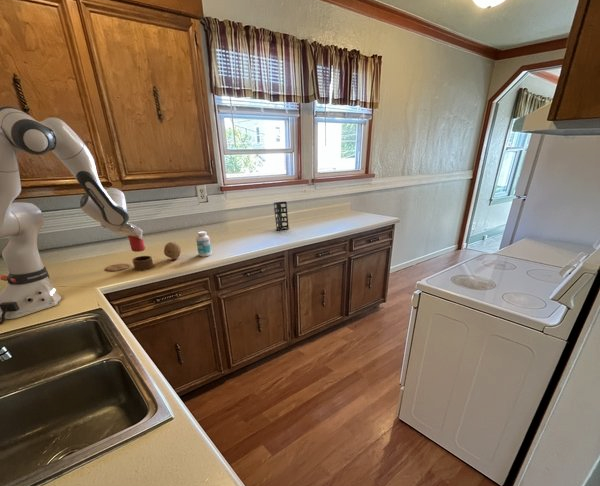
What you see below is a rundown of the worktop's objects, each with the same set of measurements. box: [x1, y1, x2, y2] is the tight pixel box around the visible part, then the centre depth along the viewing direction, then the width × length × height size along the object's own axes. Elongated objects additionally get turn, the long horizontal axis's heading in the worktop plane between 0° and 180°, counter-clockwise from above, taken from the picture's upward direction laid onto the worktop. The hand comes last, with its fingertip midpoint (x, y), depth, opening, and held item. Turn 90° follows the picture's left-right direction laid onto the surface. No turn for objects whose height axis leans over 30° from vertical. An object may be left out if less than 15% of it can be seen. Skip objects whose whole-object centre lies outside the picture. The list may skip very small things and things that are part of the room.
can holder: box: [131, 255, 155, 271], centre depth 174 cm, size 9×9×5 cm
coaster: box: [105, 263, 130, 272], centre depth 175 cm, size 11×11×1 cm
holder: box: [273, 201, 289, 231], centre depth 249 cm, size 11×8×20 cm
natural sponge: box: [163, 241, 182, 260], centre depth 184 cm, size 9×9×10 cm
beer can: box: [127, 225, 146, 253], centre depth 168 cm, size 7×7×12 cm
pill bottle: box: [195, 230, 212, 257], centre depth 191 cm, size 8×7×14 cm
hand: (136, 237), depth 168 cm, fingers closed on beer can, 6 cm apart
